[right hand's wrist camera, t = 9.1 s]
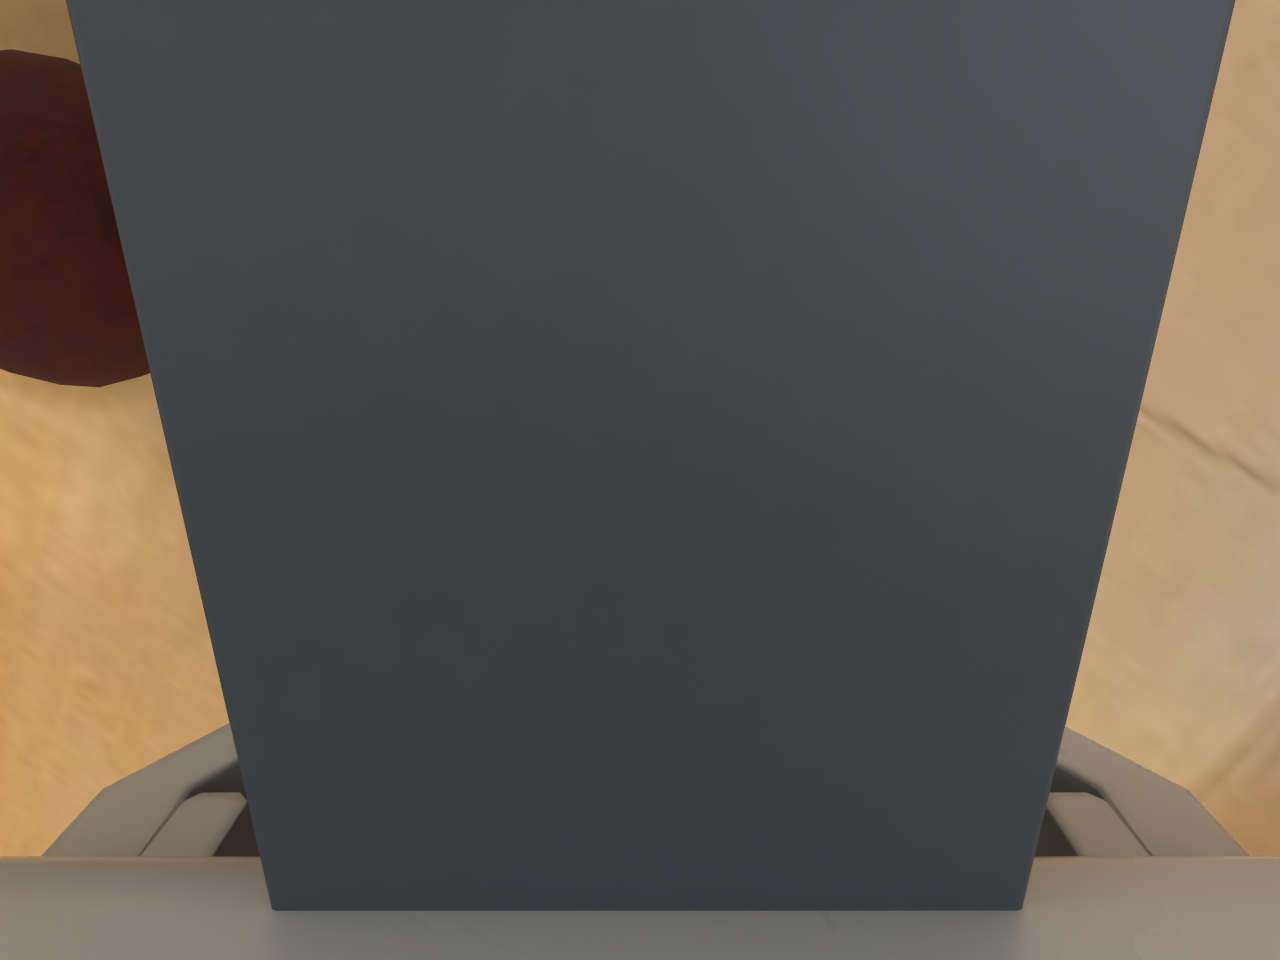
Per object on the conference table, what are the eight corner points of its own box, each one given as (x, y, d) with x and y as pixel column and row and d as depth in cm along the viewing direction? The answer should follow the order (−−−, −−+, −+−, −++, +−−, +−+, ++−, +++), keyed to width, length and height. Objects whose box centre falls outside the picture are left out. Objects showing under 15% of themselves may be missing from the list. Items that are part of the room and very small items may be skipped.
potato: (-27, 81, 20) (-358, 22, 13) (268, 74, 20) (83, 10, 13) (54, 359, 22) (-189, 427, 16) (316, 353, 22) (181, 418, 16)
